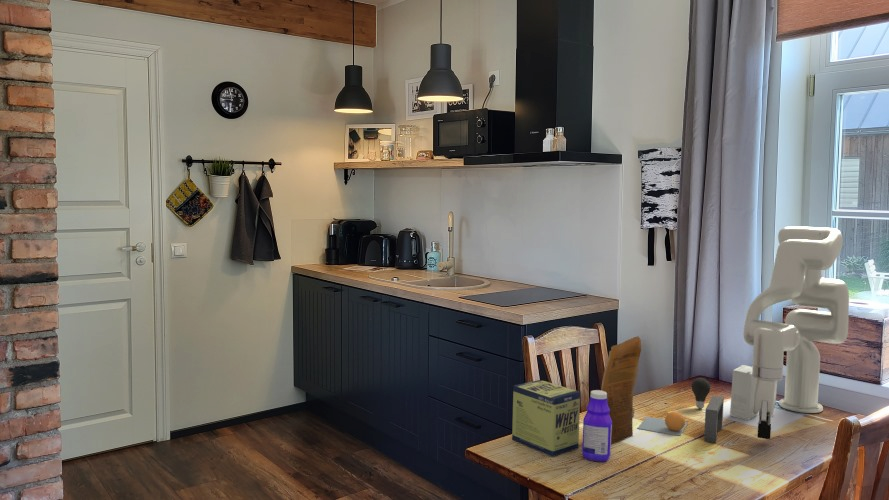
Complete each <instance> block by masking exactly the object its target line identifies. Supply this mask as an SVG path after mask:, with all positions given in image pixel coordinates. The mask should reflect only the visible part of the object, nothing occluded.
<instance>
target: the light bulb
mask: <svg viewBox="0 0 889 500" xmlns="http://www.w3.org/2000/svg"><path fill="white" fill-rule="evenodd" d="M691 390H692V393H693V395H694V397H695V399H694V400H695V401H696V402H695V407H696V408H698V410H702V409H704V407H705V402H706V399H707V396H708V395H709V394H710V392H711V383H710V382H709V381H708V380H707V379H706V378H704V377H697V378H695V379H694V380H693V381H692V383H691Z"/></svg>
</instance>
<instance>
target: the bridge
mask: <svg viewBox="0 0 889 500" xmlns="http://www.w3.org/2000/svg"><path fill="white" fill-rule="evenodd" d="M724 399H725V398H724V396H718V395H712V396H711V398H710V400H709V402H708V404H707V406H706V407H705V410H704V411H705V412H704V414H705V415H704V438H703V442H704V443H710V444H717V442H718V438H717V437H718V430H719V431H722V430H723V422H724V421H723V420H724V402H725V401H724Z"/></svg>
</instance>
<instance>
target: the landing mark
mask: <svg viewBox="0 0 889 500" xmlns="http://www.w3.org/2000/svg"><path fill="white" fill-rule="evenodd" d="M687 426H688V422H685V425H684V427H683V428H682V429H681V430H679V431H673V430H670V429H669V428H668V427H667V426H666V424H665V418H658V417H651V416H646V417H644V419H643V420H642V421H641V423H640V424H639V426H638V427H637V428H636V429H637V430H641V431H649V432H654V433H659V434H667V435H673V436H678V437H681V436H682V434H683V433H684V431H685V429H686V427H687Z"/></svg>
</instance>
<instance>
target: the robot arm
mask: <svg viewBox="0 0 889 500" xmlns="http://www.w3.org/2000/svg"><path fill="white" fill-rule="evenodd" d="M843 239H844V238H843V234H842V232H841V231H840V230H839V229H837V228H833V227H814V226H785V227H783V228H781V229H780V230H779V231H778V234H777V240H778V243H779V244H778V247H777V250H776V254H775V258H774V263H773V264H774V265H773V269H772V273H771V279H770V284H769V286H768V287H767V288H766V289H765V290H763V291H762V292H761V293H759V294H758V295H757V296H756V297H755V298H754V300H753V301H752V302H751V304H749V306H748V308H747V312H746V316H745V317H746V318H745V321H744V325H743V339H744V342H745V343H746V344H747V345H748V346H752V347H753V348H752V349H753V353H752V367H753V368H752V376H753V377H754V378H756V382H755V394H754V409H753V413H754V414H755V416H757V415H758V422H757V434H756V435H757V438H758V439H764V440H771V436H772V435H771V434H772V432H771V431H772V422H771V421H772V416H773V415H774V412H775V408H776V407H775V406H776V401H777V394H778V393H777V390H778V382H781V381H782V380H783V375H784V352H786V360H785V361H786V363H785V364H786V365H785V381H784V382H785V385H784V396H783V397H784V398H781V399H780V400H778V405H779V407H781V408H783V409H784V410H788V411H792V412H796V413H802V414H804V413H805V414H818V413H821V412H823V410H824V406H823V405H822V404H821V403H819V386H820V385H819V384H820V372H821V371H820V370H821V354H820V351H819V349H818V347H817V345H816V344H815V343H814V342H819V343H827V344H834V345H836V344H838V345H839V344H844V342H846V341H847V338H848V335H849V315H850V311H849V310H850V309H849V308H850V307H849V306H850V292H849V287H848V285H847V283H846V282H845V281H843V280H841V279H838V278H837V279H836V278H829V277H828V278H827V277H826V278H825V277H824V276H822V271H827V270H830V268H832V267H833V265H834V263H835V261H836V260H837V258H838V257H839V255H840V253H841V251H842V249H843V244H844V243H843V242H844V240H843ZM788 300H791V301H792V303H793V304H795V306H798V307H804V308H813V309H814V310H812V309H804V308H803V309H802V308H801V309H793V310H790V311H789V312H788V313H787V315H786V316H785V321H784V322H775V321H768V320H767V321H766V320H759V319H760V317H761V314H762V313H763V312H764V311H765V310H766V309H768V308H770V307H771V306H773V305H776V304H779V303H782V302H786V301H788ZM815 309H820V310H821V309H822V310H828V311H829V312H828V311H822V310H821V311H820V310H815ZM756 414H757V415H756Z"/></svg>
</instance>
